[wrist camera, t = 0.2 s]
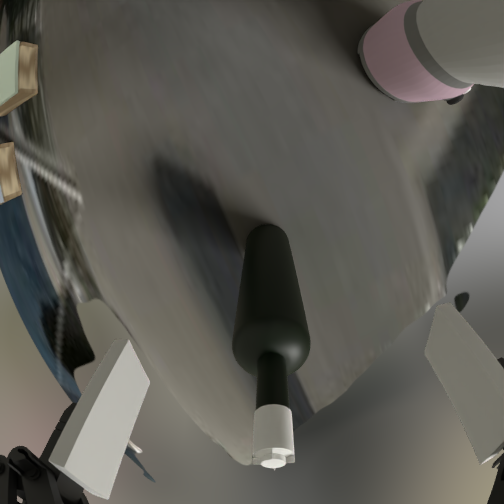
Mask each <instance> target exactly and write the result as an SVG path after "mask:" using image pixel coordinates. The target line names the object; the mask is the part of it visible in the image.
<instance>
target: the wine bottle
mask: <svg viewBox="0 0 504 504" xmlns="http://www.w3.org/2000/svg"><path fill="white" fill-rule="evenodd" d="M232 350H233V354H234V357H235V359H236V361H237V363H238V364H239V365H240V366H241V367H242V368H243V369H244V370H245V371H246V372H248V373H249V374H251V375H253V376H256V377H257V393H256V411H255V412H254V429H253V453H252V464H261V465H262V466H264V467H267V468H274V469H275V468H278V467H281V466H284V465H285V464H286V463H293V462H295V459H294V458H295V457H294V441H293V427H292V413H291V410H290V408H289V394H288V381H287V376H288V375H290V374H292V373H294V372H295V371H297V370H298V369H299V368H300V367H301V366H302V365H303V364H304V362H305V361H306V359H307V357H308V355H309V352H310V335H309V330H308V326H307V321H306V316H305V311H304V307H303V302H302V297H301V293H300V288H299V284H298V279H297V275H296V270H295V266H294V262H293V257H292V253H291V249H290V245H289V240H288V237H287V235H286V233H285V232H284V231H283V230H282V229H281V228H279V227H277V226H274V225H261V226H259V227H257V228H255V229H254V230H253V231H252V232H251V233H250V234H249V236H248V238H247V243H246V250H245V256H244V263H243V270H242V277H241V284H240V291H239V297H238V304H237V311H236V318H235V325H234V332H233V339H232Z"/></svg>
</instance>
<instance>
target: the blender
mask: <svg viewBox="0 0 504 504" xmlns="http://www.w3.org/2000/svg"><path fill="white" fill-rule="evenodd" d="M358 54H360V58H361V62H362V65H363V68H364V70H365V72H366V74H367V75H368V77H369V78H370V80H371V81H372V82H373V83H374V85H375V86H376V87H377V88H378V89H379V90H381V91H382V92H383V93H384V94H386V95H387V96H389V97H391V98H393V100H394V101H397V102H401V103H417V102H422V101H432V100H441V99H442V100H446V101H447V103H448V104H450V105H452V104H456V103H458V102H459V101H461V100H462V99H463V97H464V94H465V93H467V92H468V91H470V90H471V87H472V86H473V84H474V83H475V84H482V85H488V86H497V87H502V88H504V0H424V1H420V0H414V1H408V2H404V3H402V4H399V5H397V6H396V7H394V8H393V9H391V10H390V11H389V12H388V13H386V14H385V15H384V16H383V17H382V18H381V19H380V20H379V21H378V22H377V23H375V24H373V25H372V26H371V27H369V28H368V29H367V30H366V31H365V33H364V34H363V36H362V38H361V40H360V42H359V44H358ZM463 93H464V94H463Z"/></svg>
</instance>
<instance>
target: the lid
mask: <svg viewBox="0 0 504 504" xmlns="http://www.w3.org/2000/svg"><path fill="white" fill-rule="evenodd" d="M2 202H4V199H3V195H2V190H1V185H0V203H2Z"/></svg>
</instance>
